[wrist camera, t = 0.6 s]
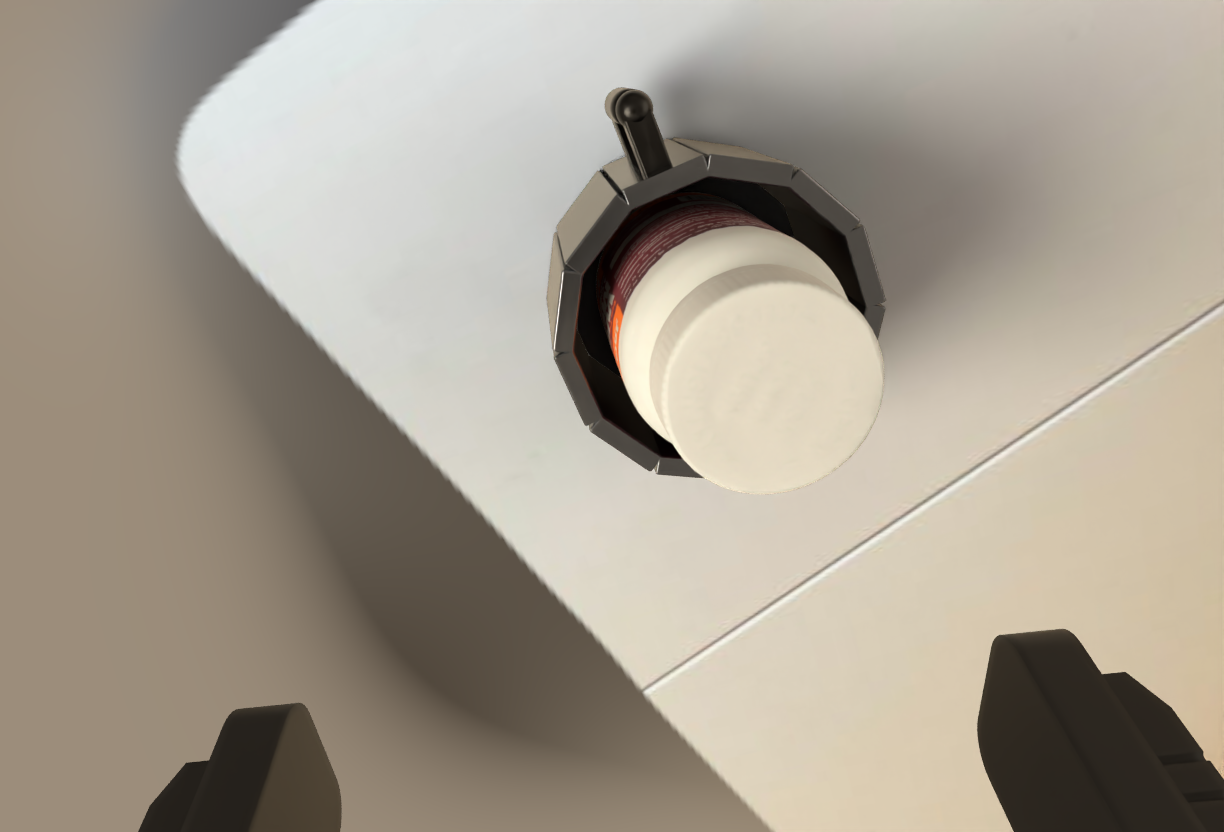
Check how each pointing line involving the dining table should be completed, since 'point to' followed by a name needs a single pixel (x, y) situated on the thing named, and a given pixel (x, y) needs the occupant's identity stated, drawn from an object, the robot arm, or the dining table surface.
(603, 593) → the dining table surface
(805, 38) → the dining table surface
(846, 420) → the pill bottle
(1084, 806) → the robot arm
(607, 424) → the faceted grey mug
